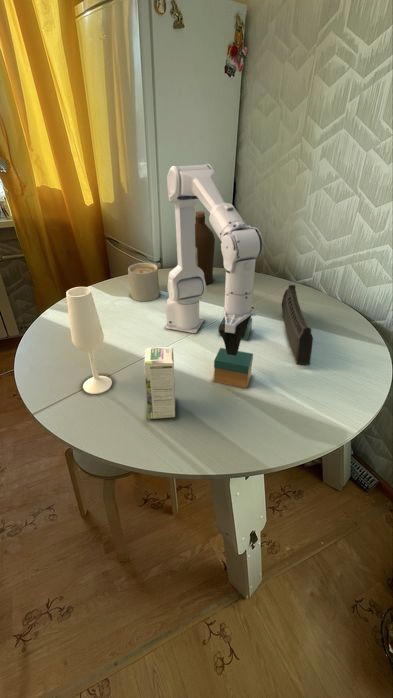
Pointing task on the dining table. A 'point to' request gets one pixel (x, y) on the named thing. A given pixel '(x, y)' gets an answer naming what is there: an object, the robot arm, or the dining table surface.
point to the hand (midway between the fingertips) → (235, 345)
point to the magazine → (296, 328)
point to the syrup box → (160, 382)
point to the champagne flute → (86, 333)
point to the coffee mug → (144, 281)
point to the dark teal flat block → (233, 361)
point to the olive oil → (204, 246)
